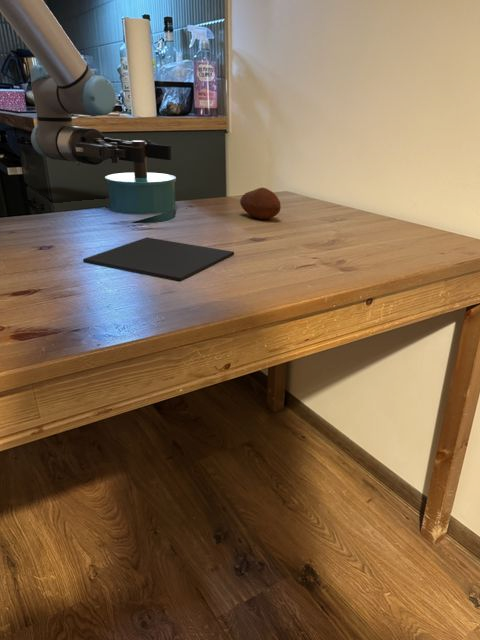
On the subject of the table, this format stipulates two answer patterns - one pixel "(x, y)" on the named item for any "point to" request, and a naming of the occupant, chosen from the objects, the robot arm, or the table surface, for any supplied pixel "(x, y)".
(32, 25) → the robot arm
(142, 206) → the green round tin
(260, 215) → the potato
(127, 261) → the placemat
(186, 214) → the table surface
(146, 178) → the tin lid
